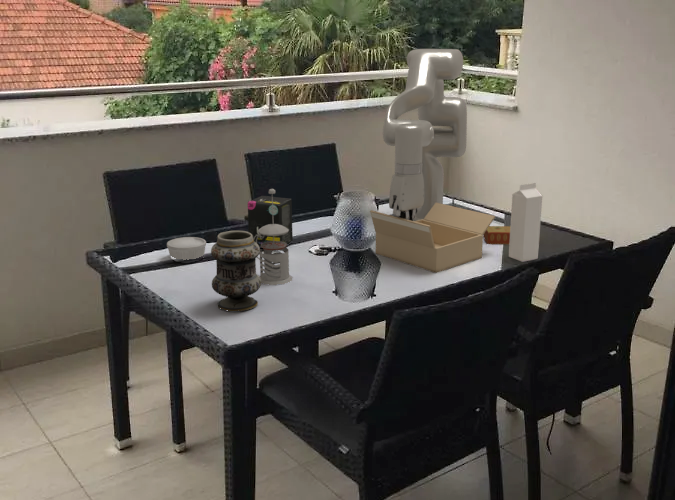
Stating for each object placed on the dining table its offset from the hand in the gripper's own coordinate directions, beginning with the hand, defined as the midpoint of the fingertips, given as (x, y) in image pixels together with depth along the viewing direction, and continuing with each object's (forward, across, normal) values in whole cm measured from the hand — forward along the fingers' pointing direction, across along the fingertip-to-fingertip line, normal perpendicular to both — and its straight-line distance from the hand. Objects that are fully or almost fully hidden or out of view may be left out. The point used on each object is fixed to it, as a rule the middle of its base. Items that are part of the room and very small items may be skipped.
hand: (406, 232), depth 214 cm
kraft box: (+9, -10, 0) cm, 13 cm away
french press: (+9, +36, -16) cm, 41 cm away
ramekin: (+9, +44, -47) cm, 65 cm away
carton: (+9, -40, +7) cm, 42 cm away
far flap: (0, -23, 0) cm, 23 cm away
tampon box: (+9, +18, -40) cm, 45 cm away
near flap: (-2, +2, 0) cm, 2 cm away
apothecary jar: (+10, +54, -6) cm, 56 cm away
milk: (+9, -28, +20) cm, 36 cm away
